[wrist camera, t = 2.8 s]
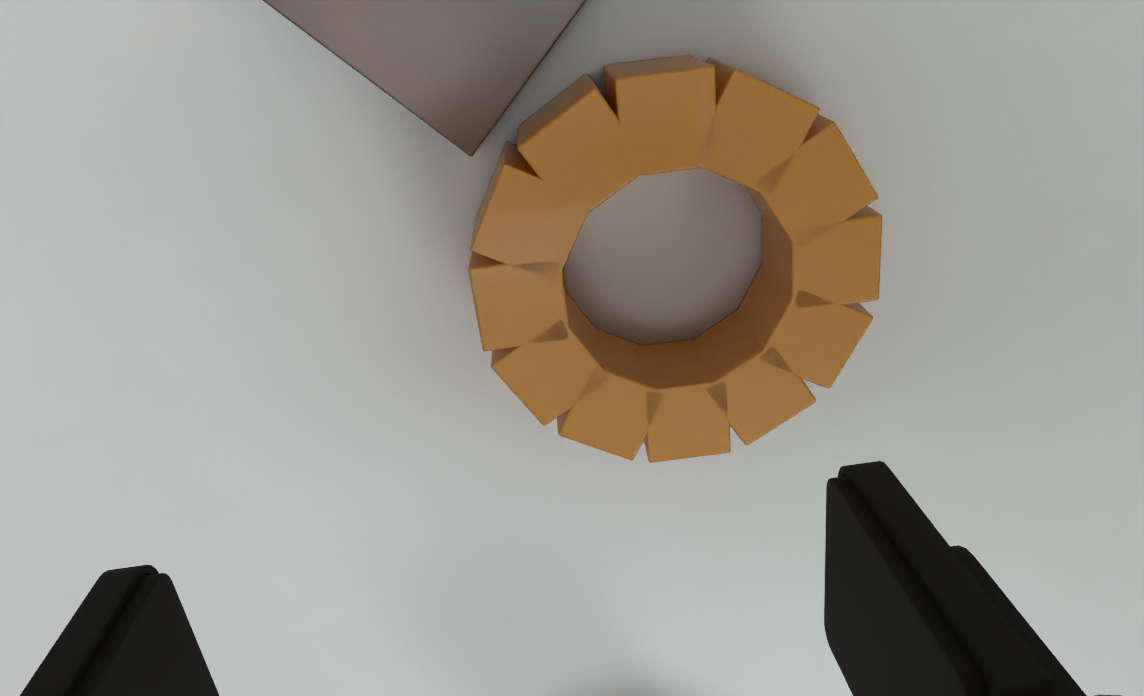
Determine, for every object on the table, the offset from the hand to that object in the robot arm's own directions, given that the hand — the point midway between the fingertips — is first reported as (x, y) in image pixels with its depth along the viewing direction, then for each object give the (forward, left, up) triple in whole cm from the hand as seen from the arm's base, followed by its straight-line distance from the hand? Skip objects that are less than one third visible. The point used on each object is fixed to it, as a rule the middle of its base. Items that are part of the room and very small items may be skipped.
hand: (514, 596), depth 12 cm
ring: (-4, 0, -14) cm, 15 cm away
